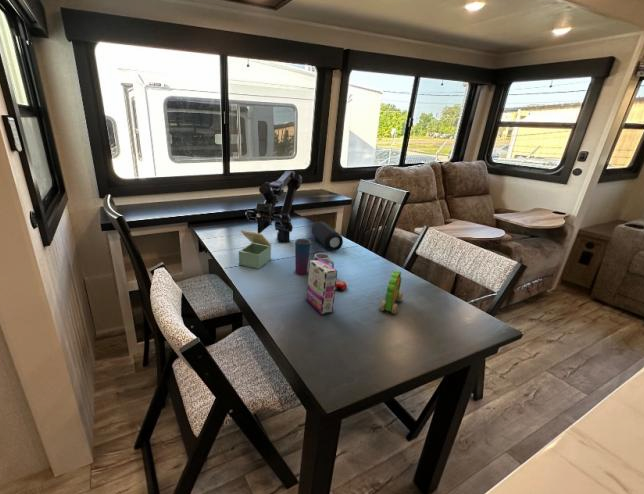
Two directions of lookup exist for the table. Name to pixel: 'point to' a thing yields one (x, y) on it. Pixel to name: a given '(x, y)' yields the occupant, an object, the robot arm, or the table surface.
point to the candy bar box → (321, 285)
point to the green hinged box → (254, 255)
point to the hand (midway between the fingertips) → (258, 233)
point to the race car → (340, 285)
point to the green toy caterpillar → (393, 293)
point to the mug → (324, 258)
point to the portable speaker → (327, 236)
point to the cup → (302, 255)
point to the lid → (256, 238)
